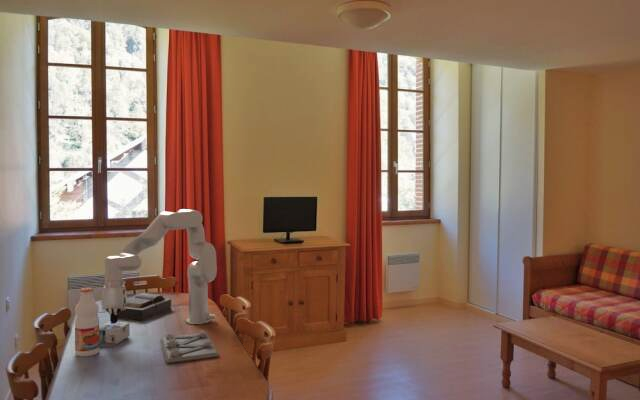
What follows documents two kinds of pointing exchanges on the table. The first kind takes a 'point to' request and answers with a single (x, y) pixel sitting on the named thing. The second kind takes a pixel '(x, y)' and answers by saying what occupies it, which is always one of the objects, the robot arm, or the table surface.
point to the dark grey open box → (145, 307)
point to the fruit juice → (86, 324)
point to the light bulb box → (113, 332)
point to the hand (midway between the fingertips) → (114, 322)
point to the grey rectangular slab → (188, 347)
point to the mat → (107, 344)
